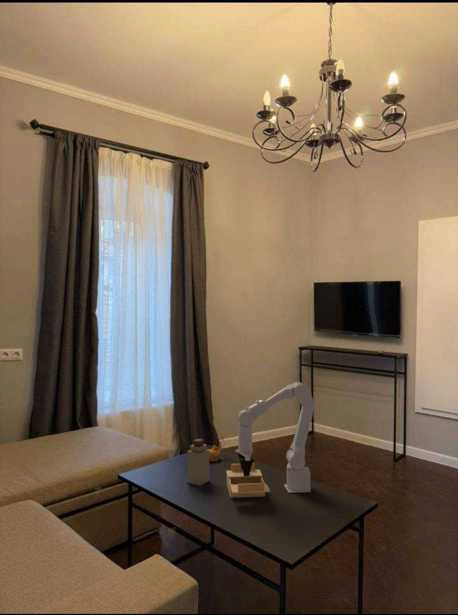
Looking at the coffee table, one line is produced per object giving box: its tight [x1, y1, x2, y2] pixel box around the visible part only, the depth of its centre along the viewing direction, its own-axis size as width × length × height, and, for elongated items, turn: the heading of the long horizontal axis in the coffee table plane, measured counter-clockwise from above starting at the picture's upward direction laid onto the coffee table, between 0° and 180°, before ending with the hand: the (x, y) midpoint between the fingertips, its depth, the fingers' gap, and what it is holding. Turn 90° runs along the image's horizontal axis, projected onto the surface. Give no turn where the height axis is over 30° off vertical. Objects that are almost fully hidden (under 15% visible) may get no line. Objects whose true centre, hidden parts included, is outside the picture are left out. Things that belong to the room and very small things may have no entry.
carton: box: [226, 475, 266, 499], centre depth 181 cm, size 14×14×5 cm
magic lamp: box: [208, 435, 226, 462], centre depth 219 cm, size 7×18×11 cm, turn 125°
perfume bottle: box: [186, 438, 210, 487], centre depth 190 cm, size 7×7×18 cm
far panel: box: [225, 462, 263, 478], centre depth 185 cm, size 14×7×3 cm, turn 96°
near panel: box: [230, 482, 271, 493], centre depth 169 cm, size 14×7×3 cm, turn 96°
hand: (245, 472), depth 182 cm, fingers open, 7 cm apart
